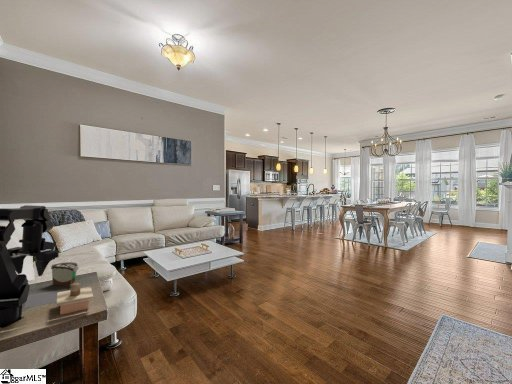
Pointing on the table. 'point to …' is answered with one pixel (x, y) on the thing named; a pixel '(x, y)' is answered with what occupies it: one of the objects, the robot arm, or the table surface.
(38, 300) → the mat
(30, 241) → the robot arm
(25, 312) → the table surface
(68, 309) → the open box
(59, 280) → the food container
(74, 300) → the lid
